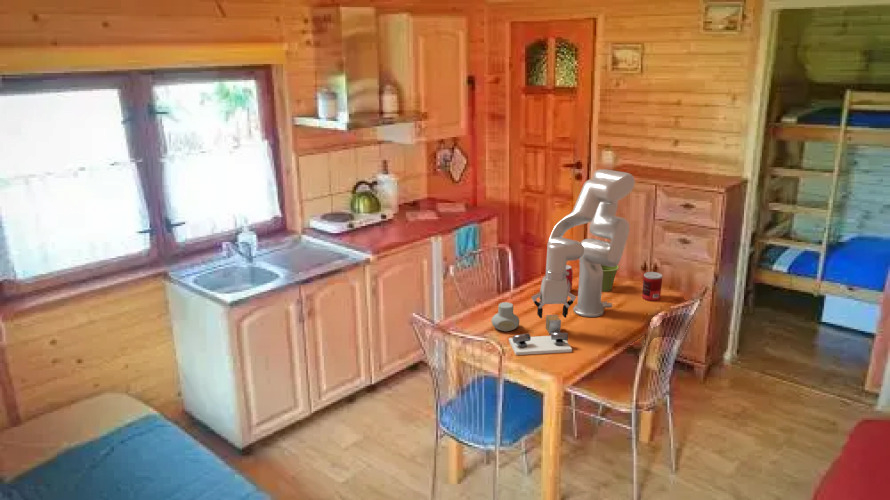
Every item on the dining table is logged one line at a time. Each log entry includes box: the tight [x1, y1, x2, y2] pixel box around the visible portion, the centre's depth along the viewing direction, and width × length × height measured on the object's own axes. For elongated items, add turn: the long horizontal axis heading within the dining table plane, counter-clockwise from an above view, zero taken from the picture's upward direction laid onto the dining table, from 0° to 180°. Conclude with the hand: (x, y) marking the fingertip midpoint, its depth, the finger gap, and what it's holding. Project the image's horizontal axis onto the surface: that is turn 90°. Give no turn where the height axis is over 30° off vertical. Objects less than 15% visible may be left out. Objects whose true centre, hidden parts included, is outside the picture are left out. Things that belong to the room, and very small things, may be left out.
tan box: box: [545, 314, 562, 335], centre depth 263 cm, size 6×4×6 cm
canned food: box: [641, 271, 663, 302], centre depth 294 cm, size 8×8×11 cm
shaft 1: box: [512, 332, 532, 348], centre depth 248 cm, size 6×4×4 cm
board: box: [508, 335, 573, 356], centre depth 251 cm, size 21×12×1 cm, turn 97°
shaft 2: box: [550, 331, 569, 346], centre depth 250 cm, size 6×4×4 cm
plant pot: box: [601, 264, 620, 293], centre depth 304 cm, size 12×12×11 cm
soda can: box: [566, 264, 574, 293], centre depth 301 cm, size 7×7×12 cm
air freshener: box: [491, 301, 520, 332], centre depth 265 cm, size 11×8×10 cm
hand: (552, 316), depth 261 cm, fingers open, 9 cm apart
